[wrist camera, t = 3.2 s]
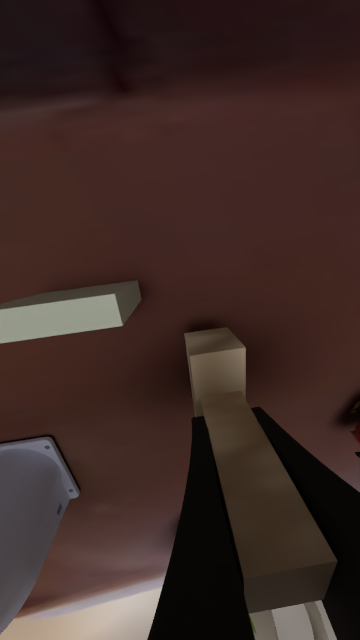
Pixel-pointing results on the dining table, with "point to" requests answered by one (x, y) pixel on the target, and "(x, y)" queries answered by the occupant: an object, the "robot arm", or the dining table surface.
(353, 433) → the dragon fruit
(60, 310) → the tile
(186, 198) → the dining table surface
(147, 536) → the dining table surface
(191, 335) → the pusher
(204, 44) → the dining table surface
